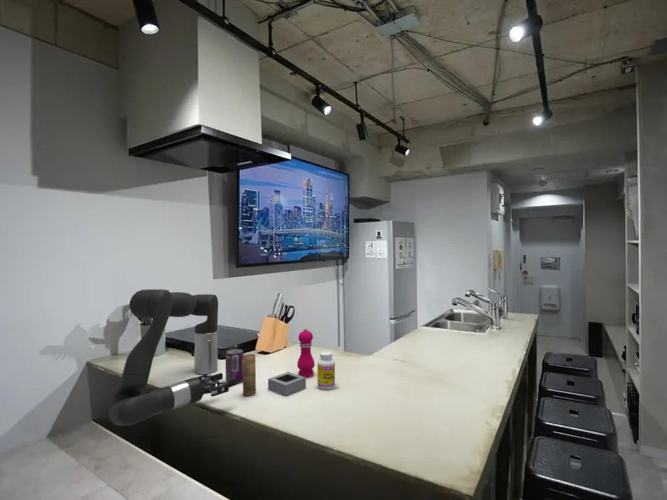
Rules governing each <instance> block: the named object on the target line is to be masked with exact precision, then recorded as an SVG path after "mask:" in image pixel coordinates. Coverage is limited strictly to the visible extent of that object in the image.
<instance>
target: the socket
mask: <svg viewBox="0 0 667 500" xmlns="http://www.w3.org/2000/svg"><path fill="white" fill-rule="evenodd" d="M267 385H268V386H267V390H268V391H271V392H274V393H277V394H279V395H281V396H284V397H289V396H290V395H293V394H295V393H298V392H299V391H303V390H305V389H306V388H307V378H306V377H302V376H299V374H296V373H293V372H290V371H287V372H284V373H281V374H278V375H275V376H273V377H270V378H268V379H267Z"/></svg>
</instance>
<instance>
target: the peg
mask: <svg viewBox="0 0 667 500" xmlns="http://www.w3.org/2000/svg"><path fill="white" fill-rule="evenodd" d="M256 383H257V380H256V354H254V353H247V354H244V355H243V380H242V395H243V396H244V397H248V398H249V397H253V396H255V395H256V394H257V387H256V386H257V385H256Z"/></svg>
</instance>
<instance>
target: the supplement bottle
mask: <svg viewBox="0 0 667 500" xmlns="http://www.w3.org/2000/svg"><path fill="white" fill-rule="evenodd" d="M319 357H320V358H319V359H318V360H317V387H318V388H319V389H320V390H331V389H333V388H335V386H336V371H335V370H336V367H335V366H336V363H335V360H334V359H333V352H331V351H321V352H320V353H319Z"/></svg>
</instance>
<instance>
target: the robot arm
mask: <svg viewBox="0 0 667 500" xmlns="http://www.w3.org/2000/svg"><path fill="white" fill-rule="evenodd" d="M129 310H130V313H132V315H133V316H134V317H136V318H139V319H144V320H145V319H152V320H151V324H150V326H149V327H148V329H147V331H146V332H145V334H144V335H143V336H142V337H141V339H140V340H139V341H138V342H137V344H135V346H134V347H132V349H131V350H130V352H129V353H128V355H127V358H126V359H125V363H124V367H123V370H122V374H121V378H120V382H119V383H120V384H119V385H118V387H117V389H116V392H115V395H114V396H113V399H112V402H111V403H110V408H109V412H108V413H109V415H108V416H109V420H110V422H111V423H112V424H113V425H115V426H119V427H121V426H132V425H134V424H137V423H140V422H143V421H145V420H147V419H149V418H152V417H154V416H155V415H160V414H163V413H166V412H169V411H171V410H177V409H180V408H183V407H186V406H189V405H192V404H194V403H197V402H200V401H201V400H202V399H203V397H204V395H208V394H209V395H210V397H212V398H213V397H215V396H219V395H222V394H225V393H228V392H229V391H230V390H229V388H232V387H235V386H237V384H238V383H237V379H235V378H234V379H231V380H228V381H226V380H225V381H221V380H223V378H224V376H223V375H224V374H223V373H222V372H219V373H216V372H218V369H219V368H218V364H219V363H218V361H219V360H218V359H219V358H218V323H219V322H218V320H219V299H218V297H217V295H216V294H209V293H208V294H201V293H199V294H193V295H192V294H191V293H189V292H181V291H173V292H170V291H169V290H167V289H163V288H162V289H158V288H157V289H150V288H149V289H148V288H147V289H141V290H138V291H136V292H134V294H133V295H132V296H131V298H130V300H129ZM190 315H191V316H197V317H198V316H199V317H206V320H205V321H203V322H200V323H198V324H196V325H194V349H193V350H194V351H193V352H194V356H193V357H194V372H195V374H197V375H199V376H195V377H190V378H187V379H184V380H181V381H177V382H174V383H172V384H169V385H167V386H163V387H160V388H157V389H156V388H155V389H154V390H152V391H150V392H148V393H144V394H141V393H142V391H143V389H145V388H146V387H147V384H148V381H149V377H150V374H151V370H152V364H153V360H154V357H155V355H156V351H157V349H158V345H159V343H160V340H161V338H162V335H163V333H164V331H165V328H166V326H167V323H168V320H169V318H171V317H172V318H184V317H188V316H190ZM214 373H216V374H214Z"/></svg>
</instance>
